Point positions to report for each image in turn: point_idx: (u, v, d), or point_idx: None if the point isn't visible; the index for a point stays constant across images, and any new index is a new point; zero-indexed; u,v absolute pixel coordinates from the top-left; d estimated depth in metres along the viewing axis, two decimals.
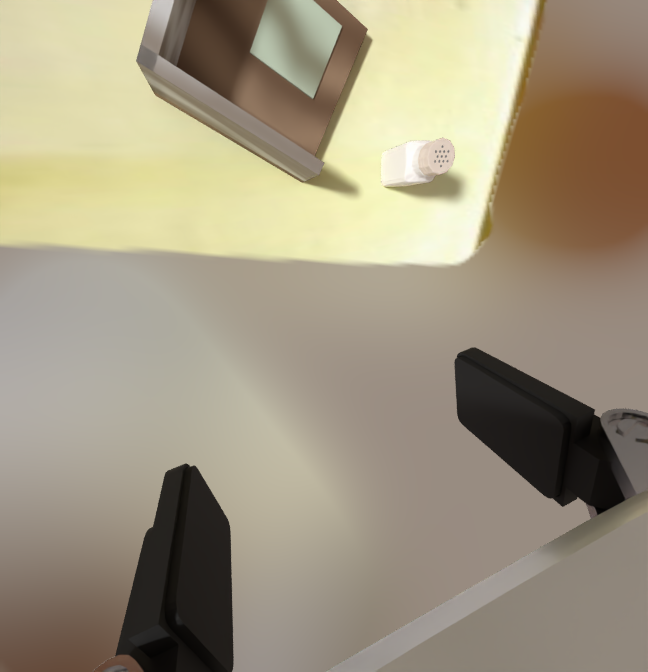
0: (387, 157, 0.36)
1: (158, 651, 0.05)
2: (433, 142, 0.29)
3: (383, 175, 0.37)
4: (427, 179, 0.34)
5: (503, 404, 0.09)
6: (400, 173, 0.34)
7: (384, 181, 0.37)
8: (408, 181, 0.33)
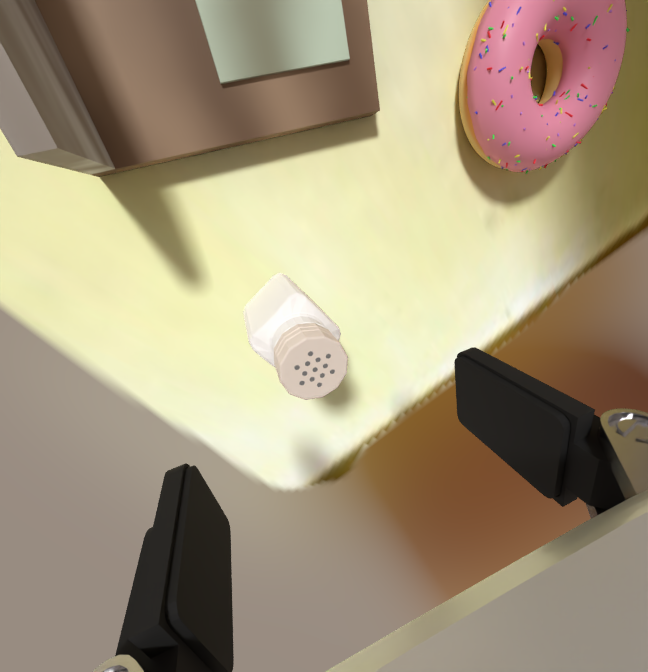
0: (273, 284, 0.19)
1: (158, 651, 0.05)
2: (318, 335, 0.13)
3: (252, 300, 0.20)
4: None
5: (503, 404, 0.09)
6: (256, 324, 0.16)
7: (245, 310, 0.20)
8: (253, 348, 0.16)
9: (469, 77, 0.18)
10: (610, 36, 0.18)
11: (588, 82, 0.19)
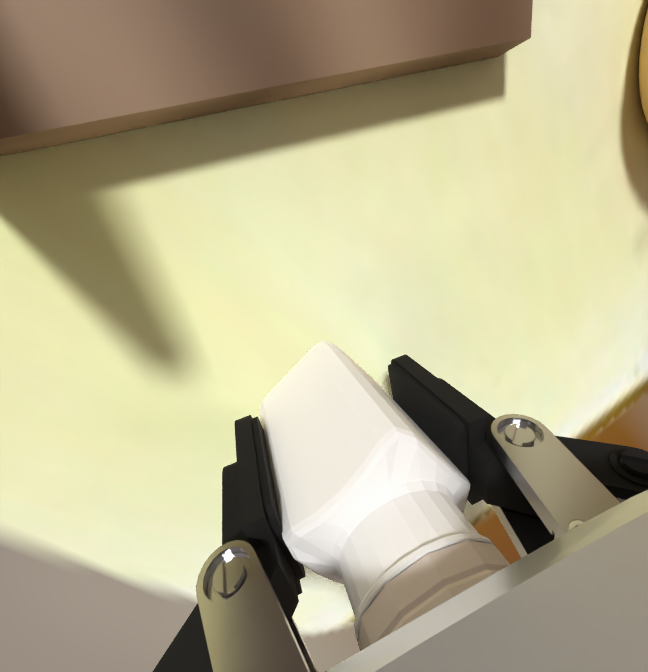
0: (318, 370, 0.10)
1: (260, 542, 0.07)
2: None
3: (276, 394, 0.11)
4: None
5: (422, 409, 0.09)
6: (296, 488, 0.07)
7: (264, 415, 0.11)
8: (294, 555, 0.07)
9: None
10: None
11: None
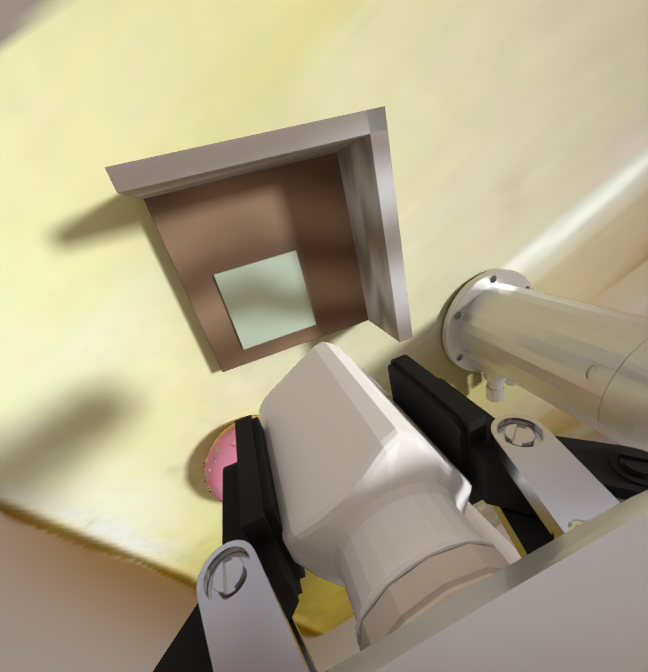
0: (318, 371, 0.10)
1: (260, 542, 0.07)
2: None
3: (277, 395, 0.11)
4: None
5: (422, 409, 0.09)
6: (297, 490, 0.07)
7: (265, 416, 0.11)
8: (295, 558, 0.07)
9: None
10: None
11: None
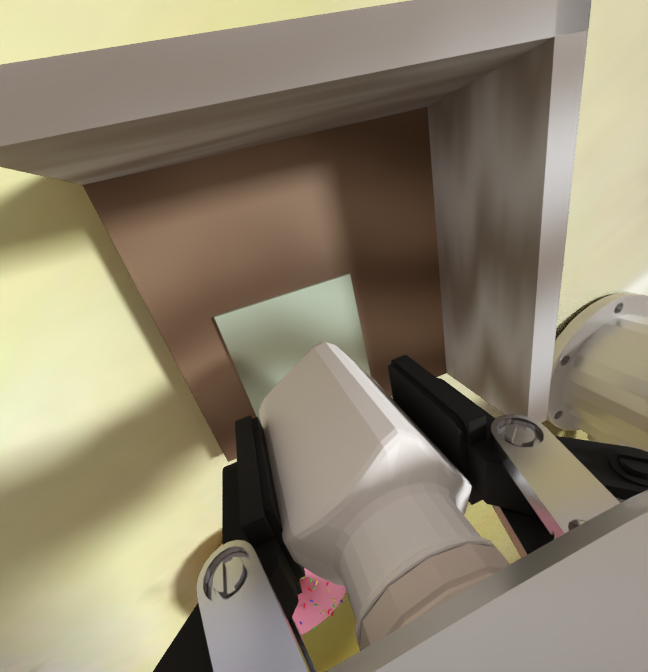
0: (318, 371, 0.10)
1: (260, 542, 0.07)
2: None
3: (277, 395, 0.11)
4: None
5: (422, 409, 0.09)
6: (297, 490, 0.07)
7: (265, 416, 0.11)
8: (294, 558, 0.07)
9: None
10: (308, 621, 0.22)
11: None
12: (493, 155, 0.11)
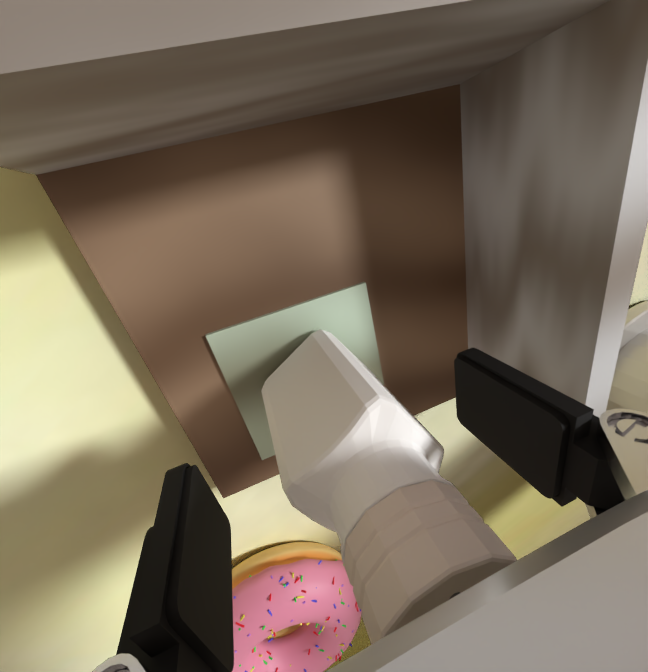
0: (315, 354, 0.11)
1: (159, 650, 0.05)
2: (475, 552, 0.05)
3: (277, 376, 0.12)
4: None
5: (502, 404, 0.09)
6: (295, 448, 0.09)
7: (266, 394, 0.12)
8: (292, 502, 0.08)
9: (265, 572, 0.17)
10: (313, 668, 0.19)
11: None
12: (551, 139, 0.09)
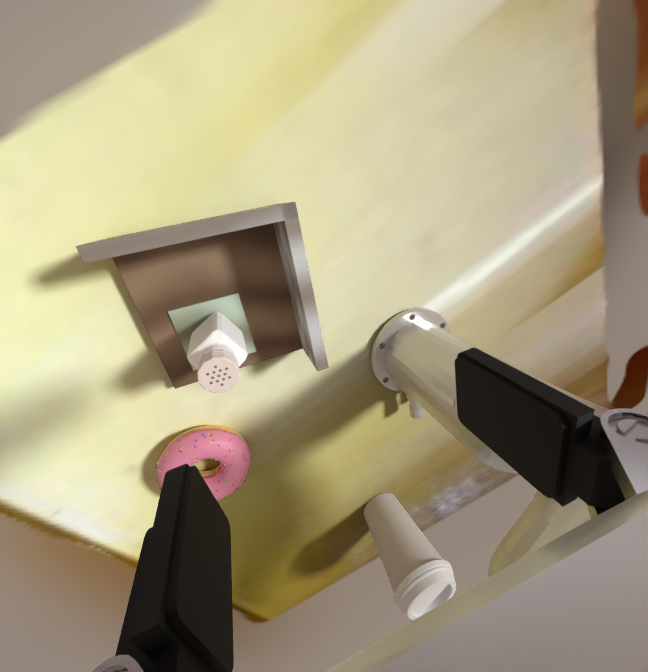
0: (209, 320, 0.29)
1: (158, 651, 0.05)
2: (220, 357, 0.23)
3: (197, 329, 0.30)
4: None
5: (503, 404, 0.09)
6: (192, 346, 0.27)
7: (191, 336, 0.30)
8: (189, 361, 0.26)
9: (195, 431, 0.35)
10: (221, 490, 0.37)
11: None
12: (286, 249, 0.28)
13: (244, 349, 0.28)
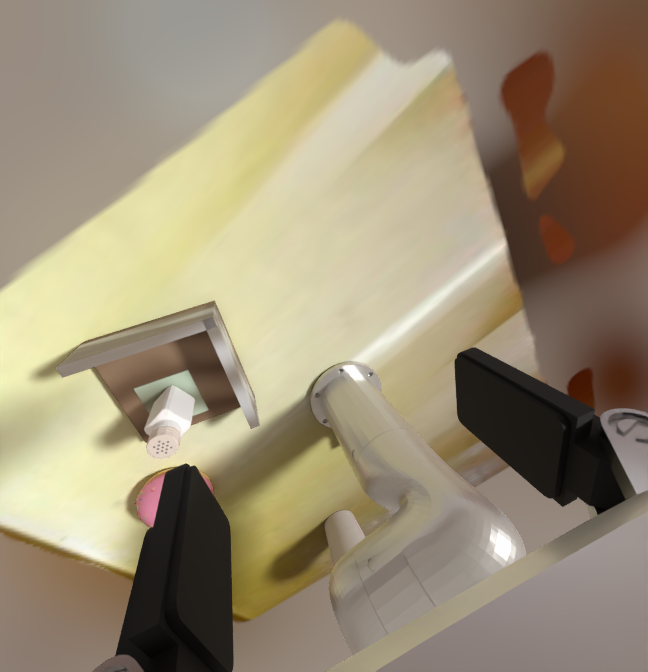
0: (164, 395, 0.38)
1: (158, 651, 0.05)
2: (162, 434, 0.32)
3: (156, 400, 0.39)
4: None
5: (503, 404, 0.09)
6: (148, 420, 0.36)
7: None
8: (146, 432, 0.35)
9: (164, 474, 0.44)
10: None
11: None
12: None
13: (188, 419, 0.37)
